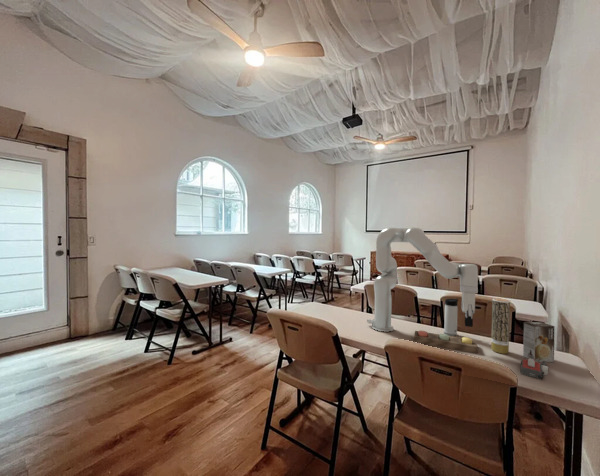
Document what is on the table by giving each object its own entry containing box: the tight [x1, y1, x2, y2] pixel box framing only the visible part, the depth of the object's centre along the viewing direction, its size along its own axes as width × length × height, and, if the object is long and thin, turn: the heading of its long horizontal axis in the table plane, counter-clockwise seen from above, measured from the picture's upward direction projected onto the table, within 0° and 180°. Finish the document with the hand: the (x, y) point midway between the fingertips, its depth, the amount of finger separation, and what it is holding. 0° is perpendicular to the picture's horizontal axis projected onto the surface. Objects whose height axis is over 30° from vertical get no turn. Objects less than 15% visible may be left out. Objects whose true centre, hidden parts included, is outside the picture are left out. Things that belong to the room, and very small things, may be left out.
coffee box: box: [522, 321, 555, 363], centre depth 125 cm, size 9×6×16 cm
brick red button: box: [417, 330, 428, 337], centre depth 145 cm, size 4×4×3 cm
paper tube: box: [490, 297, 511, 355], centre depth 132 cm, size 7×7×25 cm
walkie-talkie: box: [520, 358, 549, 380], centre depth 115 cm, size 9×4×20 cm
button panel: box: [413, 330, 479, 354], centre depth 140 cm, size 28×10×3 cm, turn 64°
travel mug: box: [443, 298, 459, 337], centre depth 155 cm, size 6×7×20 cm
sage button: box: [439, 333, 449, 341], centre depth 140 cm, size 4×4×3 cm
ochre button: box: [461, 336, 473, 344], centre depth 136 cm, size 4×4×3 cm
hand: (468, 326), depth 135 cm, fingers closed
